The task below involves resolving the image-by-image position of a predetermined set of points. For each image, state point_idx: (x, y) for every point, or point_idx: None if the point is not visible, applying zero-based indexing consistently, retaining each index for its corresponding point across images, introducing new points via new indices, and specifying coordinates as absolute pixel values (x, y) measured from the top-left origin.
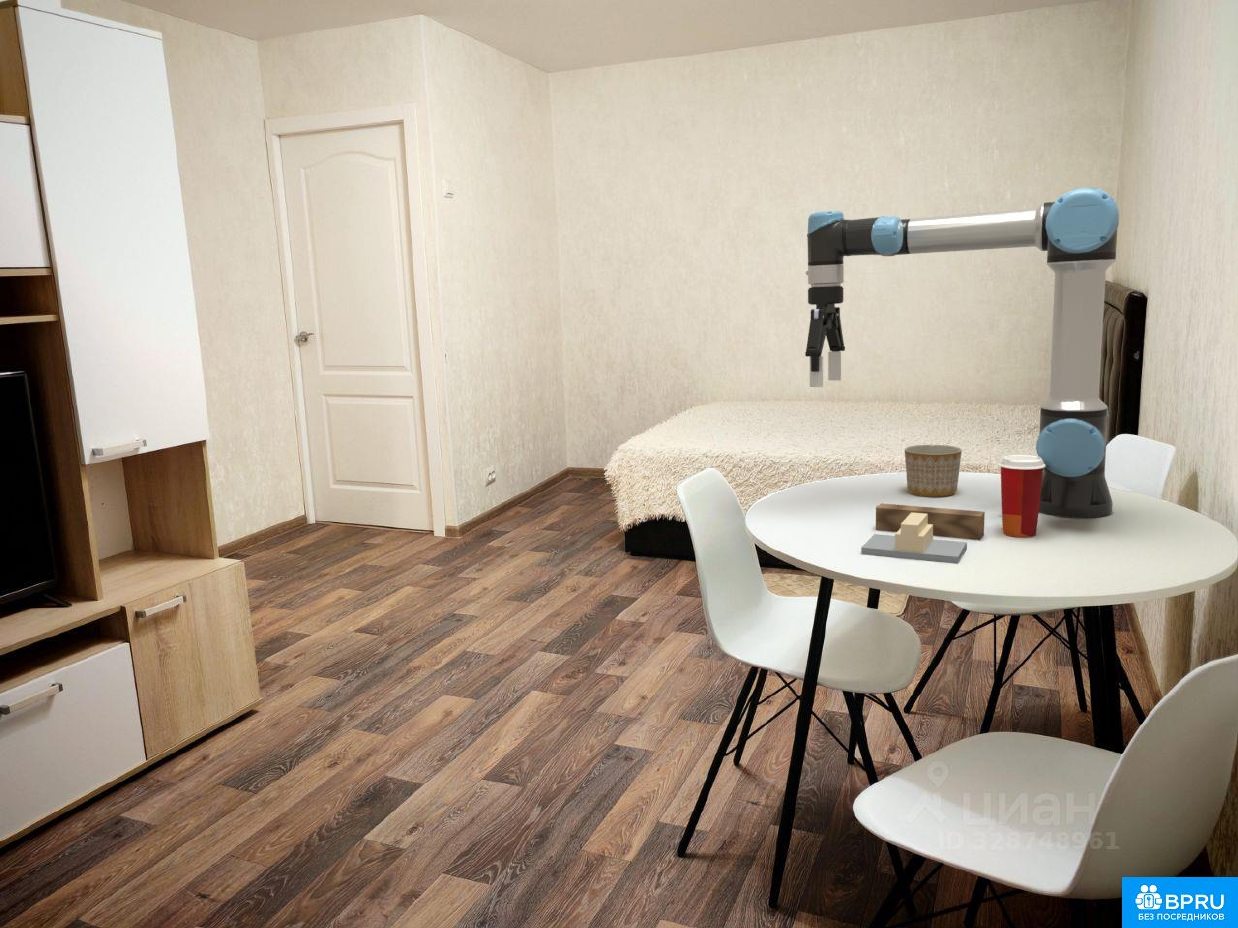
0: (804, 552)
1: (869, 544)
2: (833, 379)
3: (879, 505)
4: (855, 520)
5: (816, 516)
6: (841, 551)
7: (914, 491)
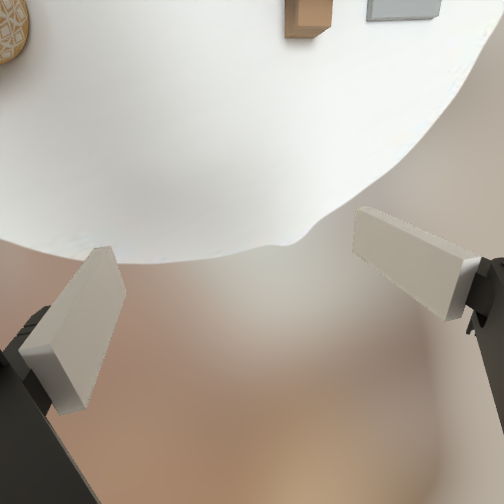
0: (432, 99)
1: (423, 7)
2: (120, 274)
3: (315, 24)
4: (269, 92)
5: (268, 159)
6: (423, 52)
7: (26, 36)
